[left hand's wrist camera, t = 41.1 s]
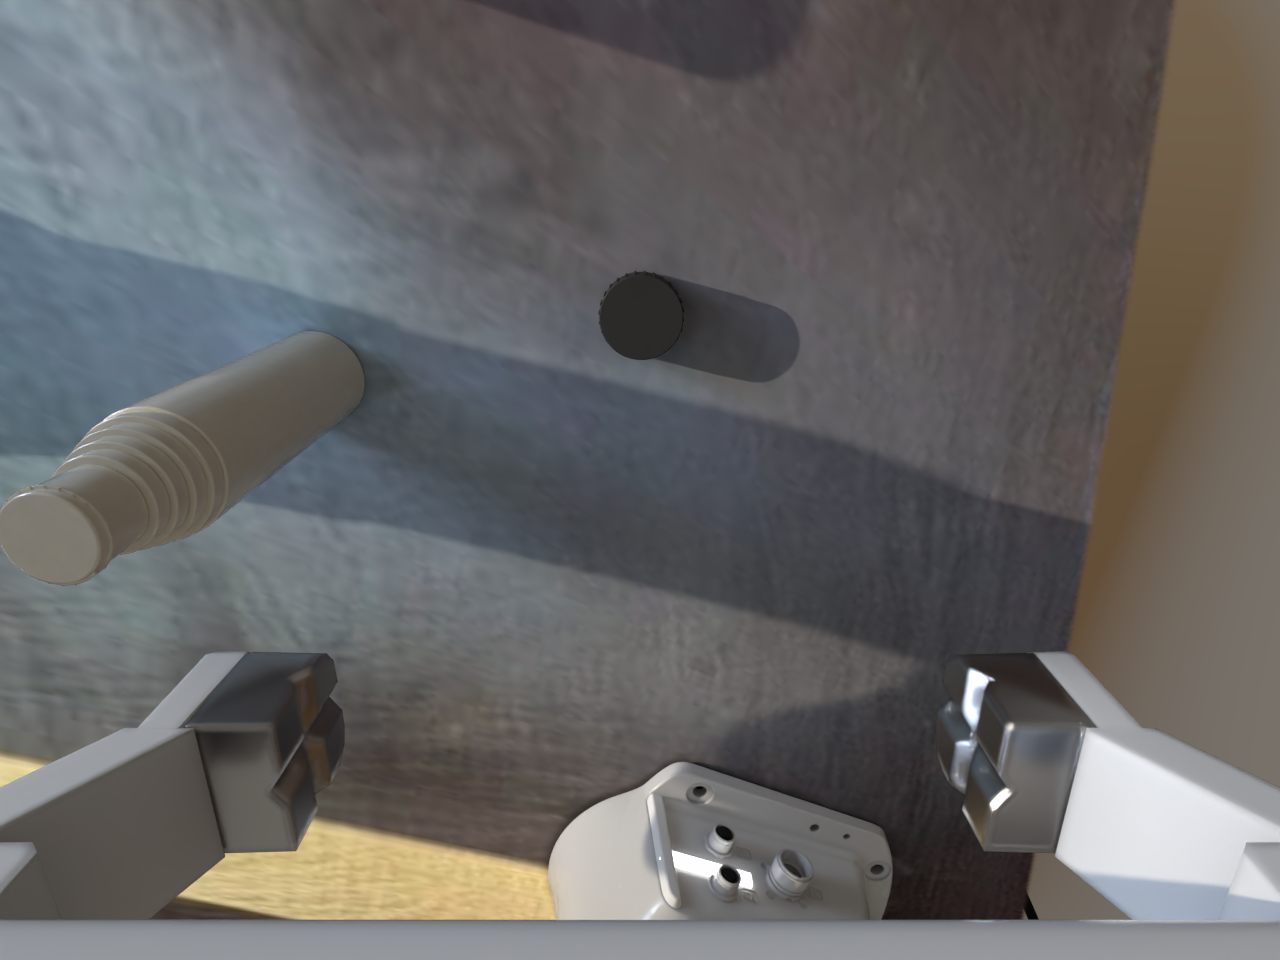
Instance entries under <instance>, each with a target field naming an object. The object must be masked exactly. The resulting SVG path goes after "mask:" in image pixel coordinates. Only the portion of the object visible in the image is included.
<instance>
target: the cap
mask: <svg viewBox="0 0 1280 960" xmlns="http://www.w3.org/2000/svg"><path fill="white" fill-rule="evenodd" d="M677 294H678V293H677V290H676V289H675V290H674V288H673V287H672V286H671V283H670V282H669V283H668V282H667V281H666V280H665V279H664V278H663V277H660V276H658V275H655V273H653V274H652V273H648V272H646V271H644V272H636V271H634V273H630V274H627V273H626V274H625V276H623V277H621V278H617V281H615V282H614V283H613V284H610V287H609V289H608V290H607V292H606V291H605V293H604V298H603V300H601V303H600V305H601V308H600V310H599V320H600V321H599V324H600V327H601V332H602V334H603V336H604V338H605V340H606V342H607V343H608V344H609V345H610V346H611V347H612V348H613V349H614V350H615V351H616V352H618V353H619V354H621V355H623V356H625V357H628V358H631V359H636V360H647V359H652V358H655V357H658V356H660V355H662V354H663V353H665V352H666V351H667V350H669V349H670V348H671V347H672V346H673V345H674V343H675V342H676V340H677V339H678V337H679V335H680V332H681V331H682V325H683V322H684V319H683V312H684V310H683V307H682V306H681V303H682V302H681V299H680V298H679V297H678V295H677Z"/></svg>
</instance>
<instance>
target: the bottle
mask: <svg viewBox="0 0 1280 960" xmlns="http://www.w3.org/2000/svg"><path fill="white" fill-rule="evenodd" d="M364 387H365V379H364V373H363V369H362V367H361V364H360V362H359V360H358V358H357V357H356V355H355V354H354V353H353V351H352V350H351V349H350V348H349V347H348V346H347V345H346V344H345V343H343V342H342V341H340V340H339V339H337V338H336V337H334V336H332V335H329V334H326V333H322V332H317V331H305V332H300V333H296V334H294V335H292V336H289V337H287V338H285V339H282V340H280V341H278V342H275V343H273V344H271V345H269V346H266V347H264V348H262V349H259V350H257V351H255V352H252V353H250V354H248V355H245V356H243V357H241V358H239V359H236V360H234V361H232V362H229V363H227V364H225V365H222V366H220V367H218V368H216V369H213V370H211V371H209V372H206V373H204V374H202V375H199V376H197V377H195V378H193V379H190V380H188V381H186V382H183V383H181V384H179V385H176V386H174V387H172V388H170V389H167V390H165V391H163V392H160V393H158V394H156V395H153V396H151V397H149V398H146V399H144V400H142V401H140V402H137V403H135V404H133V405H130V406H128V407H126V408H123V409H121V410H119V411H117V412H115V413H112V414H111V415H109V416H108V417H106V418H105V419H104V420H103V421H102V422H100V423H99V424H97V425H96V426H94V427H93V428H92V429H91V430H90V431H88V432H87V434H86V435H85V436H84V438H83V439H82V440H81V441H80V442H79V443H78V444H77V445H76V447H75V448H74V449H73V451H72V452H71V453H70V454H69V455H68V456H67V458H66V459H65V460H64V462H63V464H61V465H60V466H59V467H58V468H57V470H56V471H55V472H54V474H53V476H52V478H51V479H49V480H47V481H45V482H43V483H41V484H39V485H32V486H30V487H27V488H24V489H21V490H19V491H17V492H16V493H14V494H13V495H12V496H11V497H9V498H8V499H7V500H6V502H5V504H4V505H3V507H2V509H1V510H0V545H1V547H2V549H3V550H4V552H5V554H6V555H7V556H8V558H9V559H10V560H11V561H12V562H13V563H14V564H15V565H16V566H17V567H18V568H19V569H21V570H22V571H24V572H25V573H27V574H28V575H30V576H32V577H34V578H36V579H39V580H42V581H45V582H48V583H50V584H57V585H62V586H65V585H77V584H80V583H82V582H85V581H88V580H89V579H91V578H92V577H93V576H95V575H96V574H98V573H99V572H100V571H102V570H103V569H104V568H106V566H107V565H108V563H109V562H110V561H111V560H112V559H114V558H115V557H116V556H118V555H122V554H129V553H132V552H135V551H138V550H144V549H148V548H151V547H154V546H160V545H164V544H167V543H170V542H175V541H179V540H182V539H185V538H187V537H189V536H191V535H192V534H194V533H197V532H199V531H201V530H203V529H205V528H206V527H208V526H210V525H211V524H212V523H213V522H215V521H216V520H217V519H218V518H220V517H221V516H222V515H223V514H225V513H226V512H227V511H228V510H230V509H231V508H232V507H234V506H235V505H236V504H237V503H239V502H240V501H241V500H242V499H244V498H245V497H246V496H247V495H249V494H250V493H251V492H252V491H254V490H255V489H256V488H257V487H259V486H260V485H261V484H263V483H264V482H265V481H266V480H268V479H269V478H270V477H271V476H273V475H274V474H275V473H276V472H278V471H279V470H280V469H281V468H283V467H284V466H285V465H286V464H288V463H289V462H290V461H292V460H293V459H294V458H295V457H297V456H298V455H299V454H300V453H302V452H303V451H304V450H305V449H307V448H308V447H309V446H310V445H312V444H313V443H314V442H315V441H317V440H318V439H319V438H320V437H322V436H323V435H324V434H326V433H327V432H328V431H329V430H331V429H332V428H333V427H334V426H336V425H337V424H338V423H339V422H341V421H342V420H343V419H344V418H346V417H347V416H348V415H349V414H351V413H352V412H353V411H354V410H355V409H356V408H357V406H358V405H359V403H360V401H361V399H362V397H363V393H364Z"/></svg>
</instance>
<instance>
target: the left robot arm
mask: <svg viewBox="0 0 1280 960" xmlns="http://www.w3.org/2000/svg"><path fill="white" fill-rule="evenodd" d="M337 682H338V681H337V676H336V671H335V666H334V661H333V659H332V658H331V657H330V656H329V655H328V654H327V653H281V652H252V653H250V652H214V653H210V654H206V655H205V656H204V657H203V658H202V659H201V660H200V661H199V662H198V663H197V665H196V666H195V667H194V668H193V669H192V670H191V671H190V672H189V673H188V674H187V675H186V676H185V677H184V678H183V680H182V681H181V682H180V683H179V684H178V685H177V686H176V687H175V688H174V689H173V690H172V691H171V692H170V693H169V695H168V696H167V697H166V698H165V699H164V700H163V701H162V702H161V703H160V704H159V705H158V706H157V707H156V708H155V710H154V711H153V712H152V713H151V714H150V715H149V716H148V717H147V718H146V719H145V720H144V721H143V722H142V723H141V725H140V726H139V727H138V728H124V729H122V730H120V731H118V732H115V733H113V734H111V735H109V736H107V737H105V738H103V739H101V740H99V741H97V742H95V743H92V744H90V745H88V746H86V747H84V748H82V749H80V750H78V751H76V752H74V753H71V754H69V755H67V756H65V757H63V758H61V759H59V760H57V761H55V762H53V763H51V764H48V765H46V766H44V767H42V768H40V769H38V770H36V771H34V772H32V773H30V774H27V775H25V776H23V777H21V778H19V779H17V780H15V781H13V782H11V783H9V784H7V785H4V786H2V787H0V960H1280V788H1279V787H1277V786H1275V785H1273V784H1271V783H1269V782H1267V781H1265V780H1263V779H1261V778H1259V777H1256V776H1254V775H1252V774H1250V773H1248V772H1246V771H1244V770H1242V769H1240V768H1238V767H1235V766H1233V765H1231V764H1229V763H1227V762H1225V761H1223V760H1221V759H1219V758H1217V757H1215V756H1213V755H1210V754H1208V753H1206V752H1204V751H1202V750H1200V749H1198V748H1196V747H1194V746H1192V745H1189V744H1188V743H1185V742H1183V741H1181V740H1179V739H1177V738H1175V737H1173V736H1171V735H1169V734H1167V733H1165V732H1162V731H1160V730H1158V729H1156V728H1142V727H1141V726H1140V725H1139V723H1138V722H1137V721H1136V720H1135V719H1134V718H1133V717H1132V716H1131V715H1130V714H1129V713H1128V712H1127V711H1126V710H1125V708H1124V707H1123V706H1122V705H1121V704H1120V703H1119V702H1118V701H1117V700H1116V699H1115V698H1114V697H1113V696H1112V694H1111V693H1110V692H1109V691H1108V690H1107V689H1106V688H1105V687H1104V686H1103V685H1102V684H1101V683H1100V682H1099V681H1098V679H1097V678H1096V677H1095V676H1094V675H1093V674H1092V673H1091V672H1090V671H1089V670H1088V669H1087V668H1086V667H1085V666H1084V664H1083V663H1082V662H1081V661H1080V660H1079V659H1078V658H1077V657H1076V656H1075V655H1073V654H1071V653H1068V652H1066V651H1056V652H1028V653H1004V654H958V655H950V656H949V658H948V660H947V662H946V665H945V669H944V675H943V680H942V682H943V684H944V685H945V687H946V689H947V690H948V692H949V694H950V695H951V697H950V698H949V699H948V700H947V701H946V702H945V703H944V704H943V705H942V706H941V707H940V708H939V709H938V711H937V719H936V728H935V738H936V749H937V755H938V758H939V762H940V765H941V769H942V771H943V773H944V775H945V777H946V779H947V781H948V783H949V784H951V785H952V786H953V787H955V788H956V789H958V790H959V791H961V792H962V793H964V794H965V796H964V802H963V808H962V810H963V812H964V814H965V816H966V818H967V820H968V821H969V823H970V825H971V827H972V829H973V831H974V833H975V835H976V837H977V839H978V841H979V842H980V844H981V846H982V848H983V850H984V851H997V852H1032V853H1056V854H1055V857H1056V858H1058V859H1059V860H1060V861H1061V862H1062V863H1064V864H1065V865H1066V866H1067V867H1068V868H1070V869H1071V870H1072V871H1073V872H1075V873H1076V874H1077V875H1078V876H1079V877H1081V878H1082V879H1083V880H1084V881H1086V882H1087V883H1088V884H1089V885H1090V886H1092V887H1093V888H1094V889H1095V890H1097V891H1098V892H1099V893H1100V894H1101V895H1103V896H1104V897H1105V898H1106V899H1108V900H1109V901H1110V902H1111V903H1112V904H1114V905H1115V906H1116V907H1117V908H1119V909H1120V910H1121V911H1122V912H1123V913H1125V914H1126V915H1127V916H1128V917H1130V918H1131V919H1132V920H1039V919H1038V916H1037V914H1036V911H1035V909H1034V907H1033V905H1032V902H1031V900H1030V898H1029V896H1028V893H1027V897H1026V903H1025V909H1024V911H1025V914H1026V916H1027V918H1028V920H881V919H882V916H883V914H884V911H885V908H886V905H887V902H888V898H889V895H890V890H891V885H892V876H893V865H892V857H891V852H890V848H889V844H888V841H887V838H886V835H885V833H884V831H883V829H882V828H881V827H879V826H877V825H875V824H873V823H870V822H867V821H864V820H861V819H858V818H855V817H852V816H849V815H846V814H843V813H840V812H837V811H834V810H831V809H828V808H825V807H822V806H819V805H816V804H813V803H810V802H807V801H804V800H801V799H798V798H795V797H792V796H789V795H786V794H783V793H780V792H777V791H774V790H771V789H768V788H765V787H762V786H759V785H756V784H753V783H750V782H747V781H744V780H741V779H738V778H735V777H732V776H729V775H726V774H723V773H720V772H717V771H714V770H711V769H708V768H705V767H702V766H699V765H696V764H693V763H689V762H677V763H673V764H671V765H669V766H667V767H666V768H664V769H663V770H661V771H660V772H659V773H657V774H656V775H655V776H654V777H652V778H651V779H650V780H649V781H648V782H646V783H645V784H644V785H643V786H641V787H639V788H637V789H634V790H632V791H629V792H626V793H623V794H620V795H617V796H614V797H611V798H609V799H606V800H604V801H602V802H600V803H598V804H596V805H594V806H592V807H591V808H589V809H587V810H586V811H584V812H583V813H582V814H580V815H579V816H578V817H577V818H575V819H574V820H573V821H572V822H571V823H570V824H569V825H568V826H567V828H566V829H565V830H564V831H563V832H562V834H561V835H560V837H559V838H558V840H557V842H556V844H555V846H554V848H553V851H552V854H551V857H550V861H549V870H548V877H549V885H550V889H551V893H552V897H553V902H554V908H555V915H556V920H148V919H149V918H151V917H152V916H153V915H154V914H156V913H157V912H158V911H159V910H161V909H162V908H163V907H164V906H165V905H167V904H168V903H169V902H170V901H172V900H173V899H174V898H175V897H176V896H178V895H179V894H180V893H181V892H183V891H184V890H185V889H186V888H187V887H189V886H190V885H191V884H192V883H194V882H195V881H196V880H197V879H198V878H200V877H201V876H202V875H203V874H205V873H206V872H207V871H208V870H209V869H211V868H212V867H213V866H214V865H216V864H217V863H218V862H219V861H220V860H222V859H223V858H224V857H225V854H224V853H247V852H281V851H296V850H297V848H298V846H299V844H300V843H301V841H302V839H303V837H304V835H305V833H306V831H307V829H308V827H309V825H310V823H311V822H312V820H313V818H314V816H315V814H316V812H317V810H318V808H317V802H316V796H315V794H316V793H318V792H319V791H321V790H322V789H324V788H325V787H327V786H328V785H329V784H331V783H332V781H333V779H334V777H335V775H336V772H337V770H338V768H339V766H340V762H341V757H342V753H343V748H344V740H345V725H344V718H343V711H342V709H341V708H340V707H339V706H338V705H337V704H336V703H335V702H334V701H333V700H332V699H331V698H330V697H329V695H330V694H331V692H332V690H333V689H334V687H335V685H336V684H337ZM698 786H702V787H703V788H701V789H697V788H695V787H698Z"/></svg>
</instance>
